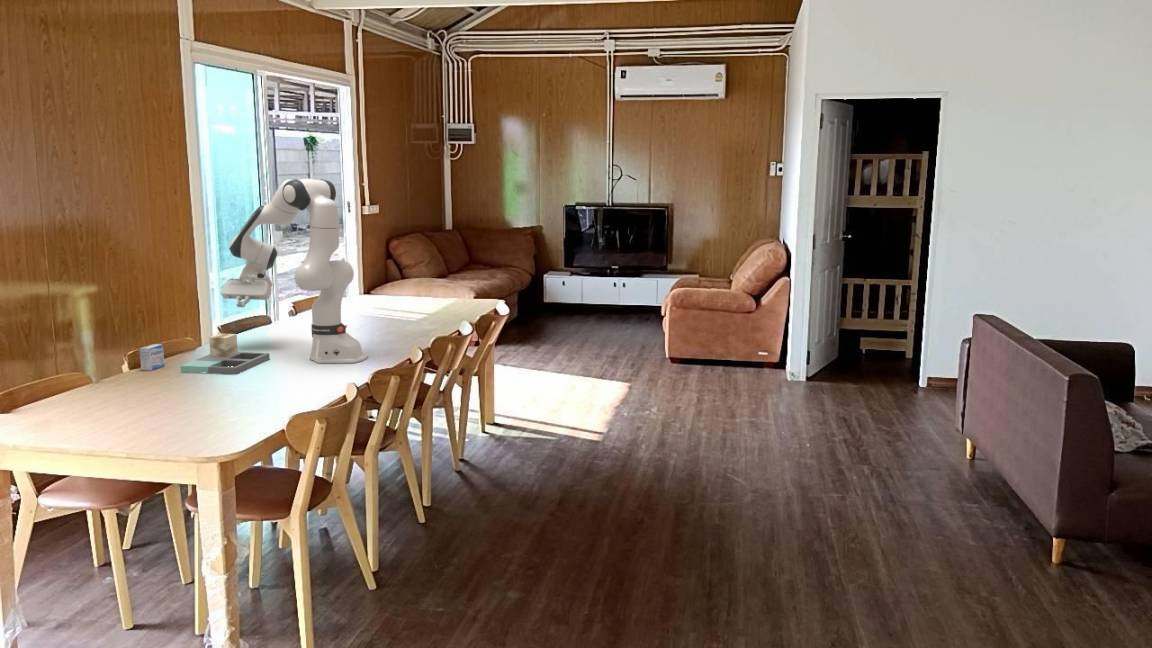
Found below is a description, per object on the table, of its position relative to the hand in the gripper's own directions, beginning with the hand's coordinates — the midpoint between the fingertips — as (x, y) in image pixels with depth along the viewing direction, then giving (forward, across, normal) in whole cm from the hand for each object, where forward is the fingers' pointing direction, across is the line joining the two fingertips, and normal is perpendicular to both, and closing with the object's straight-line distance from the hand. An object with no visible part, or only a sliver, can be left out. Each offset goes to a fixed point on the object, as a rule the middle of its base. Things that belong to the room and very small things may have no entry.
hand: (240, 306), depth 361 cm
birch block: (+22, 0, +2) cm, 22 cm away
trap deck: (+30, +6, -2) cm, 30 cm away
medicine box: (+36, -20, -8) cm, 42 cm away
